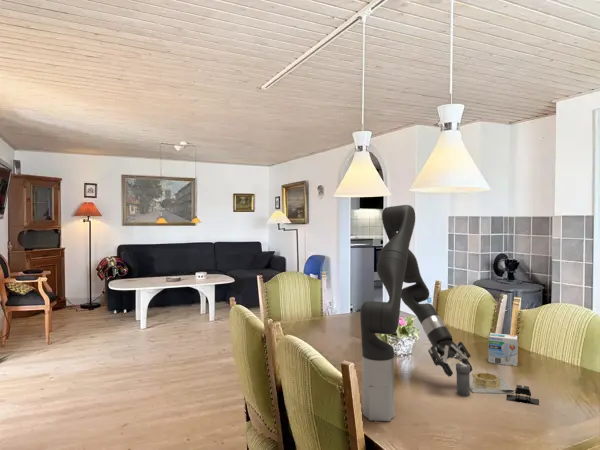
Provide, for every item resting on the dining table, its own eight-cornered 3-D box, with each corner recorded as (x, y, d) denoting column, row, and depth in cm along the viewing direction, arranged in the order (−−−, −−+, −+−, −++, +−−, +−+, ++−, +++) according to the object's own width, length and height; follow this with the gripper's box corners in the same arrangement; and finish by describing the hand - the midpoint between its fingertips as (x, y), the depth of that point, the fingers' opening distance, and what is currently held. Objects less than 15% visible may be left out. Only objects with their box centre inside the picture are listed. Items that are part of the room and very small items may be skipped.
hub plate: (513, 393, 141) (513, 382, 141) (472, 392, 143) (472, 380, 143) (499, 379, 154) (499, 369, 154) (462, 378, 156) (462, 368, 156)
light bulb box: (488, 362, 173) (487, 336, 173) (489, 358, 179) (489, 332, 179) (517, 366, 168) (517, 339, 168) (518, 361, 174) (517, 335, 174)
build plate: (544, 400, 137) (544, 386, 137) (546, 409, 130) (546, 394, 130) (501, 394, 142) (501, 380, 142) (501, 402, 136) (500, 387, 136)
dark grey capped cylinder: (473, 395, 140) (472, 365, 140) (461, 397, 139) (461, 366, 139) (464, 390, 144) (464, 361, 144) (453, 392, 143) (453, 362, 143)
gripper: (425, 327, 148) (450, 371, 137) (457, 323, 153) (482, 364, 143) (415, 339, 152) (438, 382, 142) (446, 334, 158) (470, 375, 148)
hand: (460, 373), depth 142 cm, fingers open, 8 cm apart
